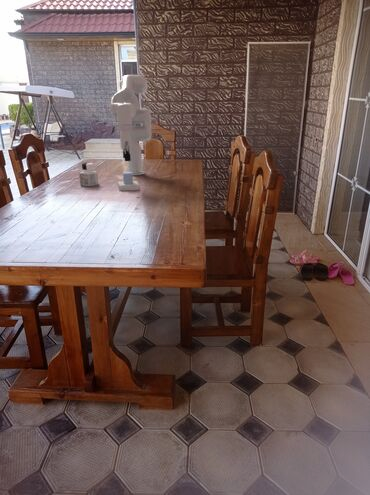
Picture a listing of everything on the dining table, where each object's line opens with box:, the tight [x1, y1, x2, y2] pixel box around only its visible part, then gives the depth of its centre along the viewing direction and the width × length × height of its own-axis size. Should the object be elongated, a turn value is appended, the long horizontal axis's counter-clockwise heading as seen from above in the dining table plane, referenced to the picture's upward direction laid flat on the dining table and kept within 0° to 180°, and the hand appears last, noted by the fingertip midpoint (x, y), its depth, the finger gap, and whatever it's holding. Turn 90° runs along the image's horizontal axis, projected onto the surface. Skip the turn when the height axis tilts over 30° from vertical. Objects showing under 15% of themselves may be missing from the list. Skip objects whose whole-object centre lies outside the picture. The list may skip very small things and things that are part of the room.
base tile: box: [117, 180, 140, 192], centre depth 215 cm, size 11×11×3 cm
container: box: [78, 162, 99, 187], centre depth 222 cm, size 8×8×13 cm
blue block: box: [122, 171, 134, 184], centre depth 214 cm, size 5×5×6 cm
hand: (126, 159), depth 210 cm, fingers open, 9 cm apart
